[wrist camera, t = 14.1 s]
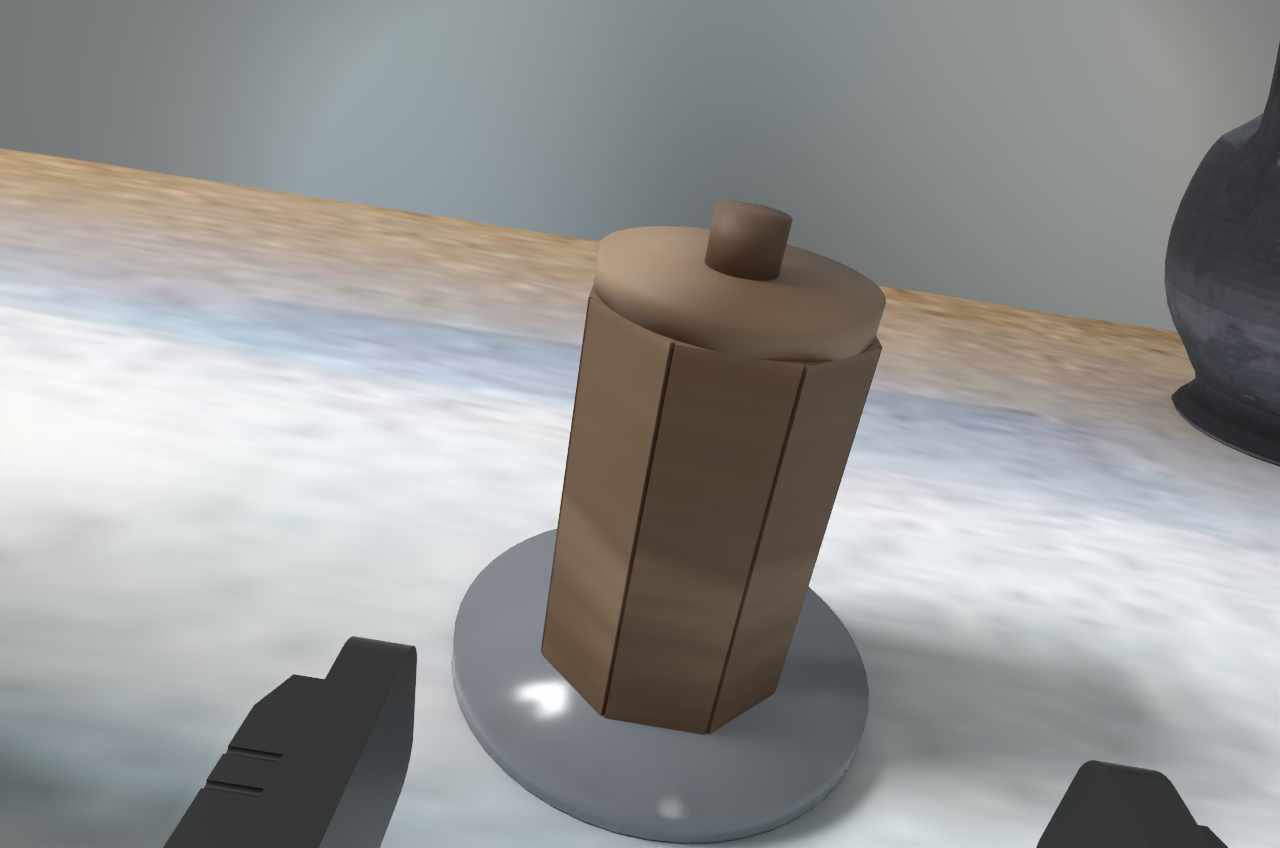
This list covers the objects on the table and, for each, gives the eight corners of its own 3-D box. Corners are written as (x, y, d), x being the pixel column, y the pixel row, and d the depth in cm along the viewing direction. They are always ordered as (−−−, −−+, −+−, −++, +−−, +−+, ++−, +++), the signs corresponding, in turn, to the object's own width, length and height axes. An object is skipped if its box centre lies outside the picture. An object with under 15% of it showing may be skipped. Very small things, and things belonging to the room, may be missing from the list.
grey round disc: (392, 797, 18) (393, 771, 18) (501, 516, 28) (503, 496, 27) (899, 881, 18) (911, 856, 18) (829, 572, 28) (835, 552, 28)
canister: (526, 706, 20) (589, 219, 15) (564, 554, 25) (620, 161, 20) (782, 748, 20) (936, 280, 15) (765, 588, 25) (872, 205, 20)
